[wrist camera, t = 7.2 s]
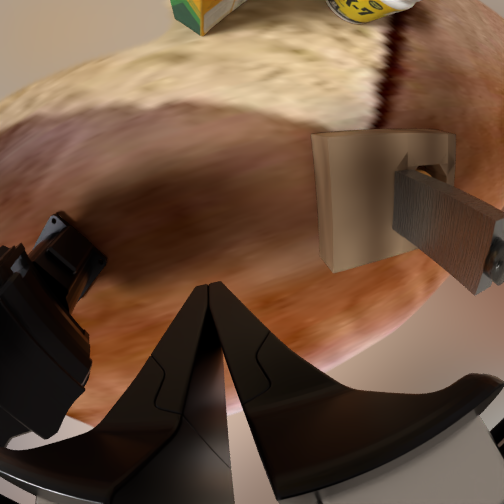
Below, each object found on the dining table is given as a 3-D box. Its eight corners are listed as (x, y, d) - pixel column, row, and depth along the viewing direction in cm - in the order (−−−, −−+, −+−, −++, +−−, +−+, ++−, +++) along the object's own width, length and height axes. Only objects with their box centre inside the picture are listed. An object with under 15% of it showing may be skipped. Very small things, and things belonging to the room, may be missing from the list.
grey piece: (390, 229, 21) (484, 308, 11) (392, 171, 19) (509, 231, 9) (410, 224, 21) (503, 295, 12) (414, 169, 19) (525, 224, 9)
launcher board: (319, 256, 25) (333, 273, 22) (310, 133, 19) (327, 137, 17) (429, 227, 26) (446, 239, 23) (434, 129, 21) (455, 134, 18)
